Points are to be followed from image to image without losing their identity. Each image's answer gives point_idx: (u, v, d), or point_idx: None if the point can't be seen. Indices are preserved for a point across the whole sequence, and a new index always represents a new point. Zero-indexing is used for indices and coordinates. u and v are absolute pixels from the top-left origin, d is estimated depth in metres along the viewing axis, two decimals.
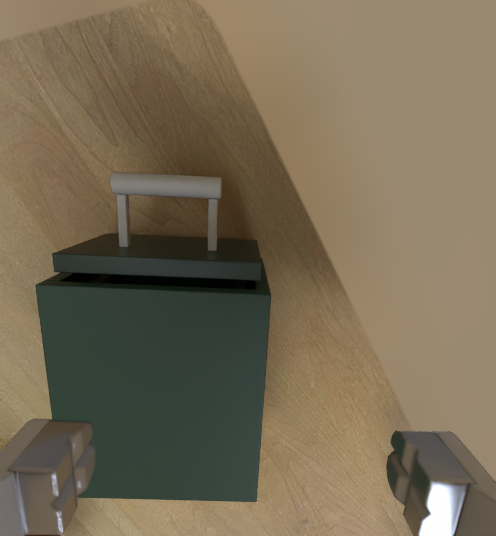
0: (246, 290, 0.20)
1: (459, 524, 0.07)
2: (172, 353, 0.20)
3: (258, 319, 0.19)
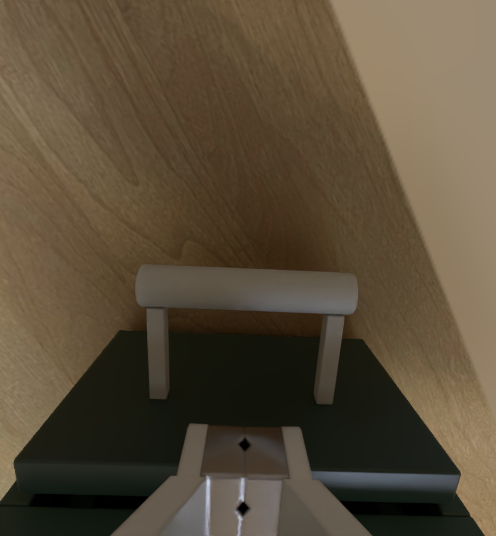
0: (427, 523, 0.09)
1: (279, 520, 0.07)
2: None
3: None
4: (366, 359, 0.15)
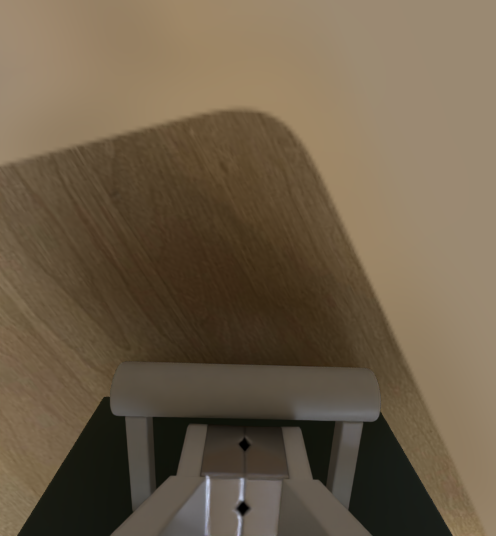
0: None
1: (279, 520, 0.07)
2: None
3: None
4: (382, 436, 0.13)
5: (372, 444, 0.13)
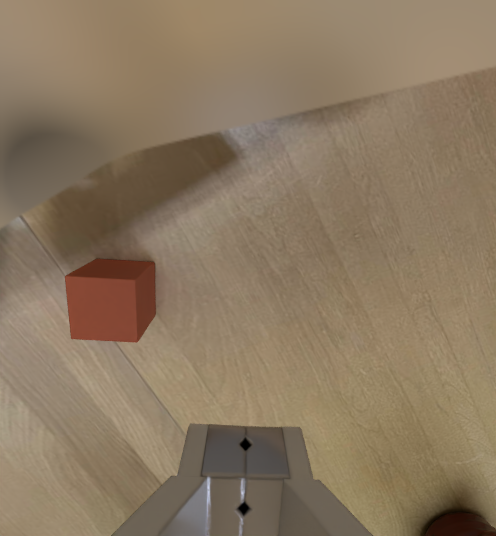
0: None
1: (280, 520, 0.07)
2: None
3: None
4: None
5: None
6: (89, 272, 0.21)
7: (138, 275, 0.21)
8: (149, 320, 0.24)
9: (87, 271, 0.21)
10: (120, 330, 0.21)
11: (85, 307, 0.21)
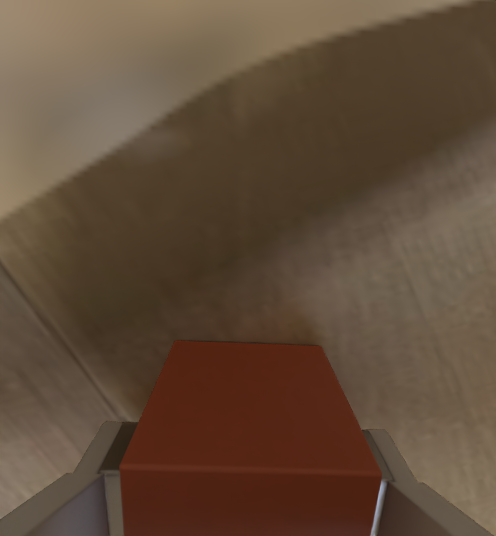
0: None
1: (380, 522, 0.07)
2: None
3: None
4: None
5: None
6: (194, 422, 0.06)
7: (360, 434, 0.06)
8: None
9: (184, 417, 0.06)
10: None
11: None
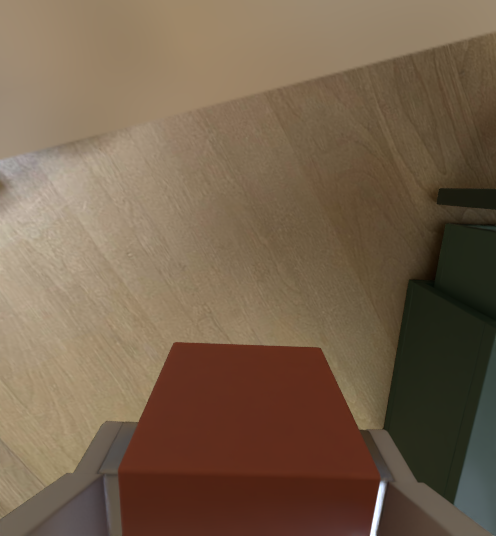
0: None
1: (380, 523, 0.07)
2: None
3: None
4: None
5: None
6: (193, 425, 0.06)
7: (358, 436, 0.06)
8: None
9: (183, 419, 0.06)
10: None
11: None
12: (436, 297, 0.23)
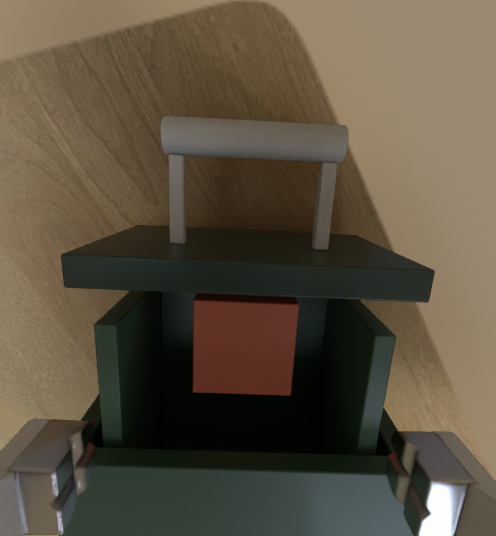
0: (380, 459, 0.12)
1: (458, 524, 0.07)
2: None
3: (401, 509, 0.12)
4: (359, 240, 0.17)
5: (350, 241, 0.16)
6: None
7: None
8: None
9: None
10: (267, 379, 0.14)
11: (220, 345, 0.14)
12: None
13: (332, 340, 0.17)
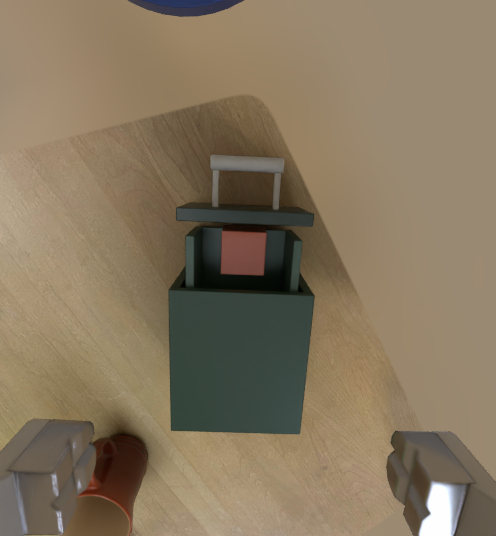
0: (298, 292, 0.31)
1: (459, 524, 0.07)
2: (250, 332, 0.31)
3: (306, 311, 0.31)
4: (297, 208, 0.35)
5: (293, 208, 0.34)
6: (233, 229, 0.33)
7: (265, 231, 0.33)
8: None
9: (231, 229, 0.33)
10: (253, 267, 0.33)
11: (233, 251, 0.32)
12: None
13: (285, 256, 0.35)
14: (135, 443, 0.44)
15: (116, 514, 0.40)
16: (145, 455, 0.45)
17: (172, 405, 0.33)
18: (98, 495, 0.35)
